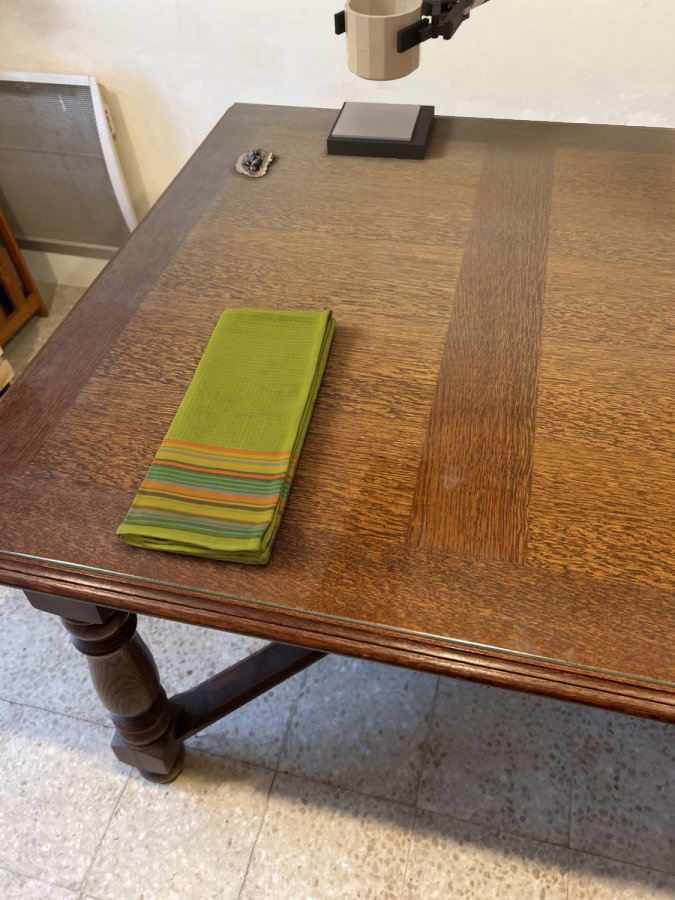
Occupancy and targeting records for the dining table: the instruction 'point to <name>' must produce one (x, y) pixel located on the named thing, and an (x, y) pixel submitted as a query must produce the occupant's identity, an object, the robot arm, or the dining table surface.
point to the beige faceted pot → (380, 38)
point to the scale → (381, 130)
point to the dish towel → (235, 439)
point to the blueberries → (254, 162)
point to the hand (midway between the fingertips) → (366, 33)
